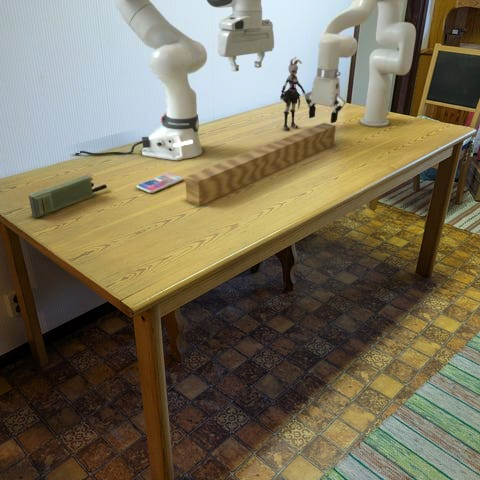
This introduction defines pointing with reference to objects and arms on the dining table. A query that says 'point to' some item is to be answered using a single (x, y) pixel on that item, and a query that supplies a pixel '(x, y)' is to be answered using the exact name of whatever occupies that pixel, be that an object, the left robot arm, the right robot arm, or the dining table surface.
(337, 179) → the dining table surface
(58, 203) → the handheld radio
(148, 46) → the left robot arm
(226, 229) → the dining table surface
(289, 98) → the figurine
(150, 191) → the smartphone
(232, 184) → the block
